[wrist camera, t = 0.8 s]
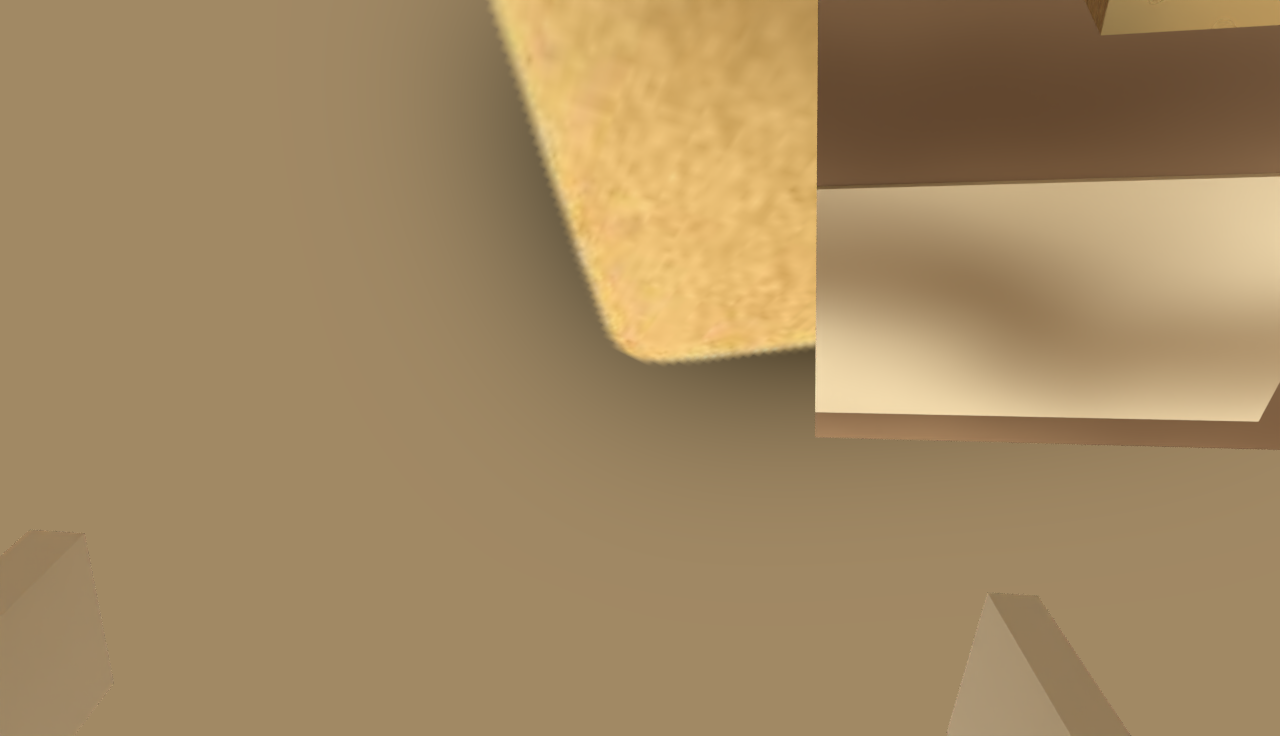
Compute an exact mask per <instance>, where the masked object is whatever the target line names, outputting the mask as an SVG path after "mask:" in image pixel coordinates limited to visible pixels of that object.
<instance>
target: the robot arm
mask: <svg viewBox="0 0 1280 736" xmlns="http://www.w3.org/2000/svg"><path fill="white" fill-rule="evenodd" d="M113 683H114V682H113V676H112V671H111V666H110V661H109V655H108V650H107V646H106V640H105V635H104V630H103V625H102V619H101V614H100V609H99V604H98V599H97V594H96V589H95V584H94V578H93V573H92V568H91V563H90V558H89V552H88V548H87V542H86V537H85V533H74V532H58V531H43V530H29V531H28V532H27V533H26V534H24V535H23V536H22V537H21V538H20V539H19V540H18V541H17V542H15V543H14V544H13V545H12V546H11V547H10V548H9V549H8V550H7V551H5V552H4V554H2V555H1V556H0V736H74V735H75V734H76V733H77V732H78V730H79V729H80V728H81V726H82V725H83V724H84V722H85V721H86V720H87V718H88V717H89V716H90V714H91V713H92V712H93V710H94V709H95V707H96V706H97V705H98V704H99V702H100V701H101V700H102V698H103V697H104V696H105V694H106V693H107V692H108V690H109V689H110V688H111V686H112V685H113ZM947 734H948V736H1131V735H1130V733H1129V732H1128V731H1127V729H1126V728H1125V726H1124V724H1123V723H1122V721H1121V720H1120V718H1119V717H1118V716H1117V714H1116V712H1115V711H1114V709H1113V708H1112V707H1111V705H1110V703H1109V702H1108V700H1107V699H1106V697H1105V696H1104V694H1103V693H1102V691H1101V690H1100V688H1099V687H1098V685H1097V684H1096V682H1095V681H1094V679H1093V678H1092V676H1091V675H1090V673H1089V672H1088V671H1087V669H1086V667H1085V666H1084V664H1083V663H1082V661H1081V660H1080V658H1079V657H1078V656H1077V654H1076V652H1075V651H1074V649H1073V648H1072V646H1071V645H1070V643H1069V642H1068V640H1067V639H1066V637H1065V636H1064V634H1063V633H1062V631H1061V630H1060V628H1059V627H1058V625H1057V624H1056V622H1055V621H1054V619H1053V618H1052V616H1051V615H1050V613H1049V612H1048V610H1047V609H1046V607H1045V606H1044V604H1043V603H1042V601H1041V600H1040V598H1039V597H1038V596H1033V595H1018V594H1003V593H987V596H986V599H985V603H984V606H983V609H982V613H981V616H980V620H979V623H978V627H977V631H976V634H975V637H974V640H973V644H972V647H971V651H970V654H969V658H968V662H967V665H966V668H965V671H964V675H963V678H962V682H961V685H960V689H959V692H958V696H957V699H956V702H955V706H954V709H953V713H952V717H951V720H950V723H949V727H948V730H947Z"/></svg>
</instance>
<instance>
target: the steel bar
mask: <svg viewBox="0 0 1280 736" xmlns="http://www.w3.org/2000/svg"><path fill="white" fill-rule="evenodd" d="M1084 1H1085V3H1086V5H1087V7H1088V9H1089V11H1090V14H1091V16H1092V18H1093V20H1094V22H1095V24H1096V26H1097V29H1098V31H1099V33H1100V35H1117V34H1134V33H1151V32H1168V31H1185V30H1202V29H1219V28H1236V27H1253V26H1270V25H1280V0H1084Z"/></svg>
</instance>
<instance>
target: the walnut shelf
mask: <svg viewBox="0 0 1280 736" xmlns="http://www.w3.org/2000/svg"><path fill="white" fill-rule="evenodd" d="M815 394H816V395H815V396H816V398H815V437H823V438H862V439H864V438H865V439H900V440H936V441H974V442H1009V443H1010V442H1011V443H1046V444H1048V443H1049V444H1084V445H1086V444H1087V445H1121V446H1158V447H1159V446H1160V447H1195V448H1232V449H1233V448H1234V449H1269V450H1280V25H1270V26H1253V27H1236V28H1219V29H1202V30H1185V31H1168V32H1151V33H1134V34H1117V35H1100V33H1099V31H1098V29H1097V26H1096V24H1095V22H1094V20H1093V18H1092V16H1091V14H1090V11H1089V9H1088V7H1087V5H1086V3H1085V1H1084V0H818V110H817V248H816V393H815Z"/></svg>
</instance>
